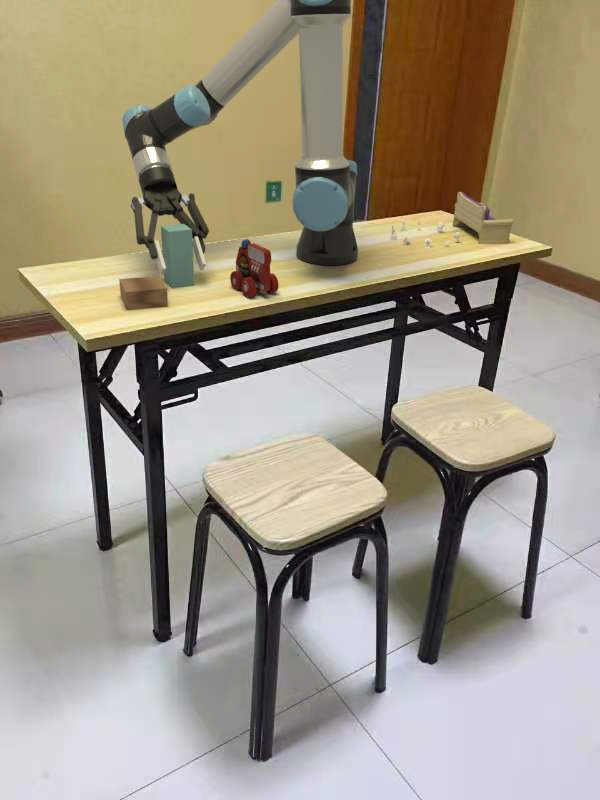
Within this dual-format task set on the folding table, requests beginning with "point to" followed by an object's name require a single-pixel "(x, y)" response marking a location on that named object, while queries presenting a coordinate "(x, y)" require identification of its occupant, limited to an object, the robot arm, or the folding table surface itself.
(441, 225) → the game piece set
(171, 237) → the pillar
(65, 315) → the folding table surface
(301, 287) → the folding table surface
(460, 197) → the toy sofa
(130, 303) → the slab
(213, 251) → the folding table surface
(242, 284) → the toy fire truck
